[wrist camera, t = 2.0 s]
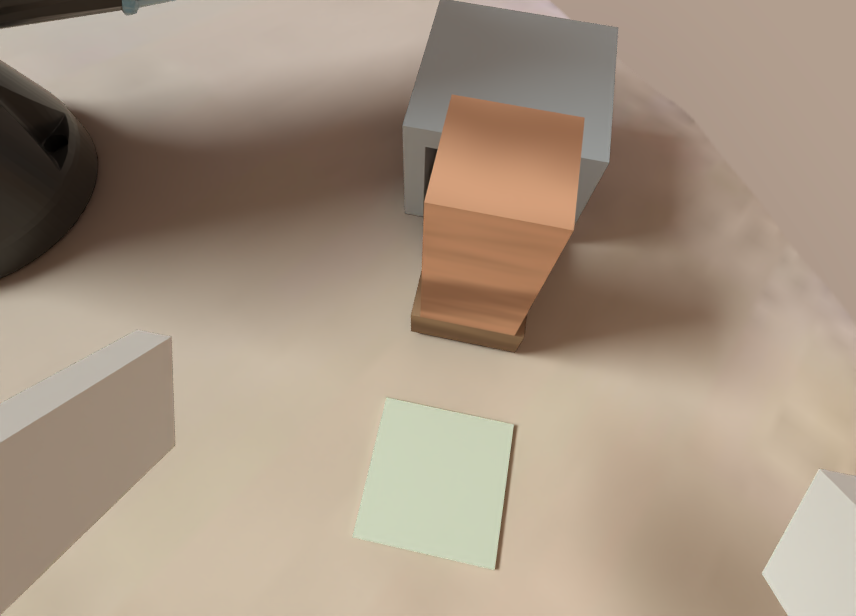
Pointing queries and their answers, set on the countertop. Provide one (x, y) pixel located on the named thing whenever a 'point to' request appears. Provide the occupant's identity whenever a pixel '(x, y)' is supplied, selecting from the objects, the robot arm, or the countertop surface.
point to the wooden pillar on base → (495, 219)
